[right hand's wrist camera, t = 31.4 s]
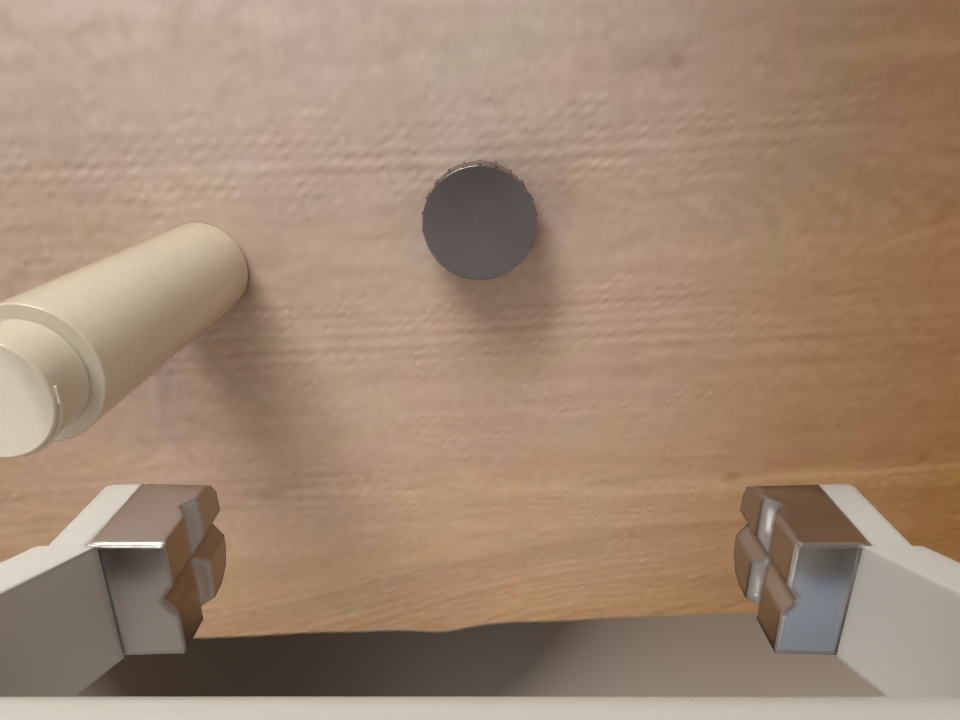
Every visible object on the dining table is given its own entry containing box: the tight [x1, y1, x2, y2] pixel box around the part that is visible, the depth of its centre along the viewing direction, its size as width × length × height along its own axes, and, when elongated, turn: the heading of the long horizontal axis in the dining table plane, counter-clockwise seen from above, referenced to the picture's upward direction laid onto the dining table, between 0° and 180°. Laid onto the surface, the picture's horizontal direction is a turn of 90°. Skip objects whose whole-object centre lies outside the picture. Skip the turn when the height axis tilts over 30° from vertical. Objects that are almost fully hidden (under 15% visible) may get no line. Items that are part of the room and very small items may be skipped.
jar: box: [0, 223, 248, 458], centre depth 30 cm, size 5×5×18 cm
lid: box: [422, 160, 537, 280], centre depth 36 cm, size 6×6×2 cm
